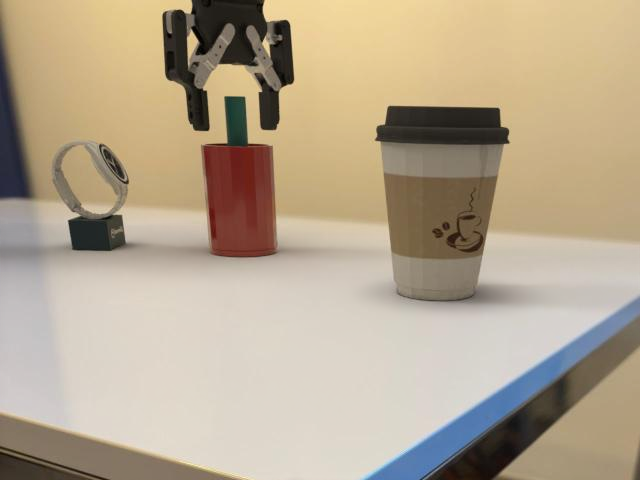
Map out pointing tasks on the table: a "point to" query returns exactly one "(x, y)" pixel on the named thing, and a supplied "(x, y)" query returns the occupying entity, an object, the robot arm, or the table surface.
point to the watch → (91, 227)
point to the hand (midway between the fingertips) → (236, 130)
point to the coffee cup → (439, 195)
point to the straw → (236, 120)
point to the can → (240, 199)
